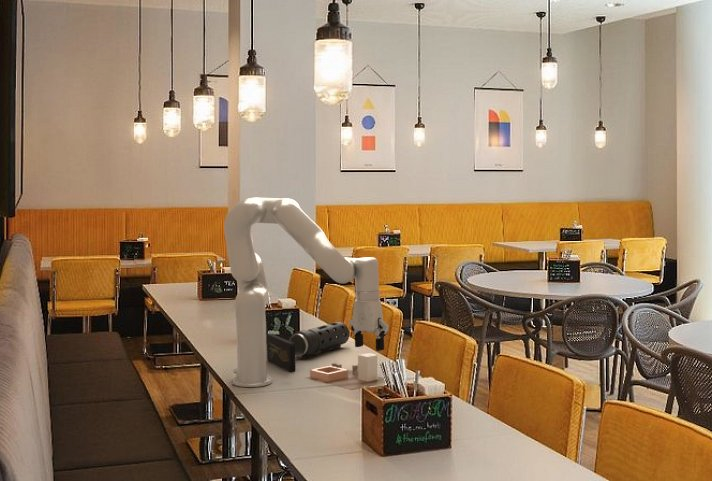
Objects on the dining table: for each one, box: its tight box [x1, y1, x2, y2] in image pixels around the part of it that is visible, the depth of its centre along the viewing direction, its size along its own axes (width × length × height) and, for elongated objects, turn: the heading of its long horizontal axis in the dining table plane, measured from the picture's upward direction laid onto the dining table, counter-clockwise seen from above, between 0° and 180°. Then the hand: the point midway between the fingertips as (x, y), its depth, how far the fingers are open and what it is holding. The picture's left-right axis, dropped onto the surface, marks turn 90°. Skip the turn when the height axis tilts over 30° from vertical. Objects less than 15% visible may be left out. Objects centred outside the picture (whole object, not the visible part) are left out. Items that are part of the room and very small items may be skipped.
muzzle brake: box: [288, 321, 350, 358], centre depth 335 cm, size 10×28×10 cm, turn 148°
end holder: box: [309, 365, 349, 382], centre depth 292 cm, size 9×9×2 cm
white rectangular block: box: [357, 352, 378, 382], centre depth 288 cm, size 4×4×8 cm
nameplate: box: [266, 333, 296, 373], centre depth 313 cm, size 21×2×10 cm, turn 28°
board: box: [304, 362, 386, 391], centre depth 290 cm, size 23×18×4 cm
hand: (369, 348), depth 288 cm, fingers open, 9 cm apart
